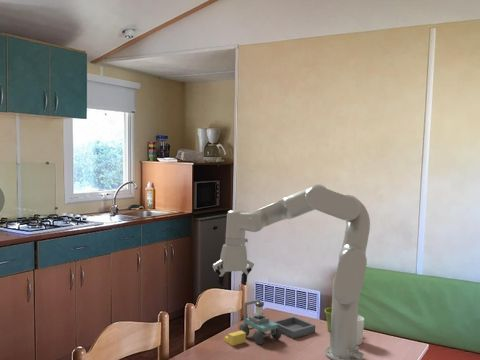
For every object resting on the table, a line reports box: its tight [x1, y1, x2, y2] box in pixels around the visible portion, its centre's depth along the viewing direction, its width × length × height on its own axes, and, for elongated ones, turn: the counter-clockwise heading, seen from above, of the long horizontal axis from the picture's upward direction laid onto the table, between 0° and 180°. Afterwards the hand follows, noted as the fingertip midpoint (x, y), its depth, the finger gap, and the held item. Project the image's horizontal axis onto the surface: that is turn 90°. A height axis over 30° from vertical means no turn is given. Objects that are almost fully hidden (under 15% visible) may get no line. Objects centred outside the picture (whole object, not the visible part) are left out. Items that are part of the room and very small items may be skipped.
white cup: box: [356, 314, 365, 346], centre depth 181 cm, size 8×8×10 cm
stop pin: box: [254, 300, 265, 320], centre depth 183 cm, size 4×4×8 cm
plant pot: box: [324, 307, 332, 333], centre depth 192 cm, size 9×9×9 cm
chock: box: [223, 330, 247, 347], centre depth 177 cm, size 6×6×4 cm
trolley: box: [238, 299, 282, 346], centre depth 182 cm, size 14×10×14 cm
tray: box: [272, 315, 316, 340], centre depth 191 cm, size 13×13×3 cm
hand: (232, 285), depth 176 cm, fingers open, 9 cm apart
